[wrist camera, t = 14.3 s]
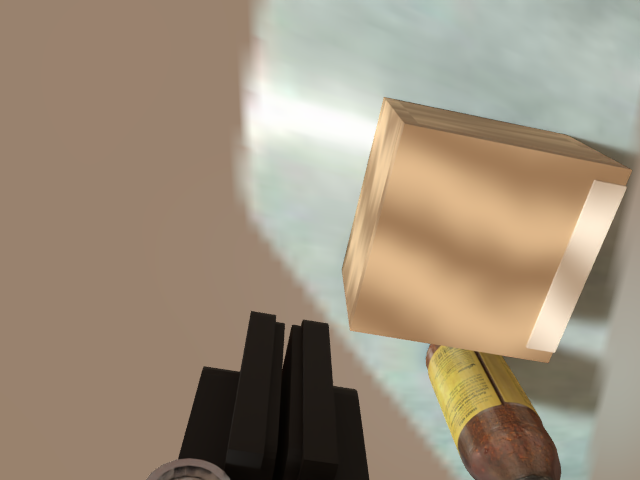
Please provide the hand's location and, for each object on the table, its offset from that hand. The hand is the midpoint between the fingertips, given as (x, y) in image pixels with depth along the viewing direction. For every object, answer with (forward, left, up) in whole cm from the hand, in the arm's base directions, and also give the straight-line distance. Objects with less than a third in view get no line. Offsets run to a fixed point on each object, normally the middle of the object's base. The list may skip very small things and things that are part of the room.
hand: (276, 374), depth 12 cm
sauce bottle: (+18, +18, -31) cm, 40 cm away
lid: (+5, +13, -23) cm, 27 cm away
